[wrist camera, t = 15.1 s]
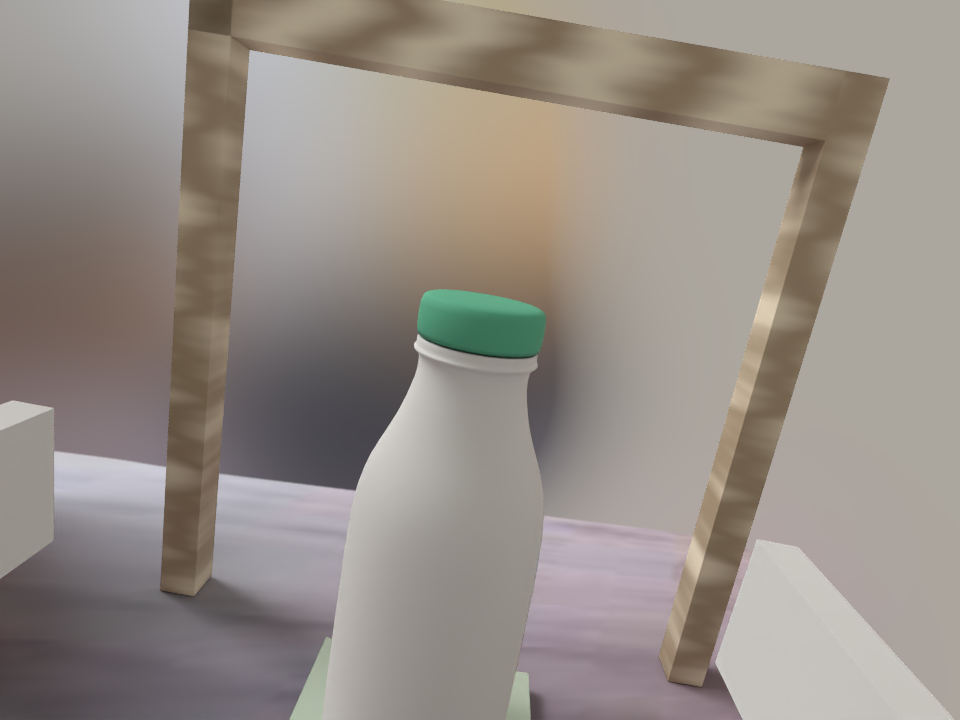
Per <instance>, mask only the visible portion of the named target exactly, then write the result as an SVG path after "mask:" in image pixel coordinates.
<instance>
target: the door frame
mask: <svg viewBox="0 0 960 720" xmlns="http://www.w3.org/2000/svg"><path fill="white" fill-rule="evenodd" d="M187 45H188V46H187V64H186V84H185V104H184V124H183V145H182V146H183V147H182V165H181V186H180V205H179V226H178V245H177V246H178V247H177V266H176V267H177V268H176V286H175V307H174V326H173V327H174V328H173V346H172V366H171V389H170V407H169V427H168V447H167V448H168V449H167V467H166V487H165V507H164V527H163V547H162V568H161V588H160V590H161V591H167V592H173V593H178V594H184V595H189V596H195V595H196V594H197V592H198V591H199V590H200V589H201V588H202V587H203V585H204V584H205V583H206V582H207V581H208V579H209V578H210V577H211V575H212V561H213V547H214V533H215V520H216V506H217V492H218V478H219V464H220V450H221V437H222V423H223V408H224V395H225V394H224V393H225V381H226V368H227V354H228V340H229V326H230V312H231V297H232V284H233V271H234V257H235V243H236V229H237V215H238V201H239V188H240V187H239V186H240V174H241V160H242V146H243V132H244V118H245V104H246V90H247V77H248V76H247V75H248V63H249V50H253V51H259V52H265V53H270V54H277V55H282V56H288V57H293V58H300V59H305V60H310V61H316V62H322V63H328V64H333V65H339V66H345V67H350V68H356V69H362V70H367V71H373V72H379V73H385V74H390V75H396V76H402V77H408V78H413V79H419V80H425V81H430V82H436V83H442V84H447V85H453V86H459V87H465V88H471V89H476V90H482V91H488V92H493V93H499V94H504V95H510V96H516V97H521V98H527V99H533V100H539V101H545V102H550V103H556V104H562V105H567V106H573V107H579V108H584V109H590V110H596V111H601V112H607V113H613V114H619V115H624V116H630V117H636V118H642V119H647V120H653V121H658V122H664V123H670V124H676V125H681V126H687V127H693V128H699V129H704V130H710V131H716V132H722V133H727V134H733V135H738V136H744V137H750V138H755V139H761V140H767V141H773V142H779V143H784V144H790V145H796V146H802V147H803V150H802V154H801V157H800V161H799V164H798V168H797V171H796V175H795V178H794V182H793V185H792V189H791V193H790V196H789V199H788V203H787V207H786V210H785V213H784V217H783V220H782V224H781V228H780V231H779V235H778V238H777V242H776V245H775V249H774V252H773V256H772V259H771V263H770V266H769V270H768V273H767V277H766V280H765V284H764V287H763V291H762V294H761V298H760V301H759V305H758V308H757V312H756V316H755V319H754V323H753V326H752V330H751V333H750V337H749V340H748V344H747V347H746V351H745V354H744V358H743V362H742V365H741V368H740V372H739V375H738V379H737V382H736V386H735V389H734V393H733V397H732V400H731V404H730V407H729V411H728V414H727V418H726V422H725V425H724V428H723V432H722V435H721V439H720V442H719V446H718V449H717V453H716V456H715V460H714V464H713V467H712V470H711V474H710V478H709V481H708V485H707V488H706V492H705V495H704V499H703V502H702V506H701V509H700V513H699V516H698V520H697V523H696V527H695V531H694V534H693V537H692V541H691V544H690V548H689V551H688V555H687V559H686V562H685V566H684V569H683V573H682V576H681V580H680V583H679V587H678V590H677V594H676V597H675V601H674V604H673V608H672V611H671V615H670V618H669V622H668V625H667V629H666V632H665V636H664V640H663V643H662V647H661V650H660V654H659V658H660V661H661V663H662V666H663V669H664V672H665V674H666V677H667V680H668V681H671V682H676V683H682V684H687V685H693V686H699V687H702V685H703V682H704V679H705V676H706V672H707V669H708V666H709V663H710V659H711V656H712V653H713V650H714V646H715V643H716V640H717V637H718V633H719V630H720V627H721V624H722V620H723V617H724V614H725V611H726V607H727V604H728V601H729V598H730V594H731V591H732V588H733V585H734V582H735V578H736V575H737V572H738V569H739V565H740V562H741V559H742V556H743V552H744V549H745V546H746V543H747V539H748V536H749V533H750V530H751V526H752V523H753V520H754V517H755V513H756V510H757V507H758V504H759V500H760V497H761V494H762V491H763V488H764V484H765V481H766V477H767V475H768V471H769V468H770V465H771V461H772V458H773V455H774V452H775V449H776V445H777V442H778V439H779V436H780V432H781V429H782V426H783V423H784V420H785V416H786V413H787V410H788V407H789V403H790V400H791V397H792V394H793V390H794V387H795V384H796V380H797V377H798V374H799V371H800V368H801V364H802V361H803V358H804V355H805V351H806V348H807V344H808V342H809V338H810V335H811V331H812V328H813V326H814V322H815V319H816V316H817V313H818V309H819V306H820V303H821V300H822V296H823V293H824V290H825V287H826V283H827V280H828V277H829V274H830V270H831V267H832V264H833V260H834V257H835V254H836V251H837V248H838V244H839V241H840V238H841V235H842V232H843V228H844V225H845V222H846V219H847V215H848V212H849V209H850V206H851V202H852V199H853V196H854V193H855V189H856V186H857V183H858V179H859V176H860V173H861V170H862V167H863V163H864V160H865V157H866V154H867V151H868V147H869V144H870V141H871V138H872V134H873V131H874V128H875V125H876V121H877V118H878V115H879V112H880V108H881V105H882V102H883V98H884V95H885V92H886V89H887V86H888V82H889V78H884V77H877V76H872V75H867V74H861V73H855V72H849V71H843V70H837V69H832V68H826V67H821V66H815V65H809V64H804V63H798V62H791V61H786V60H781V59H775V58H769V57H763V56H758V55H752V54H746V53H740V52H735V51H729V50H723V49H718V48H712V47H706V46H701V45H695V44H689V43H683V42H677V41H672V40H666V39H660V38H655V37H648V36H643V35H638V34H632V33H626V32H620V31H614V30H609V29H603V28H597V27H591V26H586V25H580V24H574V23H569V22H563V21H557V20H552V19H546V18H540V17H534V16H529V15H523V14H517V13H511V12H506V11H500V10H494V9H489V8H482V7H477V6H472V5H466V4H459V3H454V2H448V1H443V0H190V4H189V24H188V44H187Z"/></svg>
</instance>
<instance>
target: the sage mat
mask: <svg viewBox="0 0 960 720" xmlns="http://www.w3.org/2000/svg"><path fill="white" fill-rule="evenodd" d="M331 643H332V638H328V637H326V638H325V640H324V642H323V645H322V647H321V649H320V651H319V654H318V656H317V658H316V661H315V663H314V665H313V667H312V670H311V672H310V674H309V676H308V679H307V681H306V683H305V685H304V688H303V690H302V692H301V694H300V697H299V699H298V701H297V704H296V706H295V708H294V710H293V713H292V715H291V717H290V719H289V720H322V713H323V706H324V698H325V690H326V682H327V674H328V666H329V659H330V651H331ZM505 720H531V714H530V696H529V677H528V673H523V672H518V671H516V673H515V678H514V682H513V687H512V692H511V696H510V701H509V706H508V710H507V715H506V719H505Z"/></svg>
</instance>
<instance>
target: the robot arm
mask: <svg viewBox="0 0 960 720" xmlns="http://www.w3.org/2000/svg"><path fill="white" fill-rule="evenodd" d="M53 541H54V408H50V407H45V406H39V405H34V404H29V403H23V402H17V401H10V402H7V403H4V404H2V405H0V579H1V578H2V577H3V576H5V575H6V574H8V573H9V572H10V571H12V570H13V569H15V568H16V567H17V566H19V565H20V564H22V563H23V562H24V561H26V560H27V559H29V558H30V557H31V556H33V555H34V554H36V553H37V552H39V551H40V550H41V549H43V548H44V547H46V546H47V545H48V544H50V543H51V542H53ZM715 663H716V665H717V667H718V669H719V672H720V674H721V676H722V678H723V680H724V682H725V684H726V686H727V688H728V690H729V692H730V694H731V696H732V698H733V701H734V703H735V705H736V707H737V709H738V711H739V713H740V715H741V717H742V719H743V720H955V719H954V718H953V717H952V716H951V715H950V714H949V713H948V712H947V710H946V709H945V708H944V707H943V706H942V705H941V704H940V703H939V702H938V701H937V699H936V698H935V697H934V696H933V695H932V694H931V693H930V692H929V691H928V690H927V688H926V687H925V686H924V685H923V684H922V683H921V682H920V681H919V680H918V679H917V677H916V676H915V675H914V674H913V673H912V672H911V671H910V670H909V669H908V667H907V666H906V665H905V664H904V663H903V662H902V661H901V660H900V659H899V658H898V656H897V655H896V654H894V652H893V651H892V650H891V649H890V648H889V647H888V646H887V645H886V643H885V642H884V641H883V640H882V639H881V638H880V637H879V636H878V634H877V633H876V632H875V631H874V630H873V629H872V628H871V627H870V626H869V625H868V624H867V622H866V621H865V620H864V619H863V618H862V617H861V616H860V615H859V614H858V612H857V611H856V610H855V609H854V608H853V607H852V606H851V605H850V604H849V603H848V602H847V600H846V599H845V598H844V597H843V596H842V595H841V594H840V593H839V592H838V591H837V589H836V588H835V587H834V586H833V585H832V584H831V583H830V582H829V581H828V580H827V579H826V577H825V576H824V575H823V574H822V573H821V572H820V571H819V570H818V568H817V567H816V566H815V565H814V564H813V563H812V562H811V561H810V560H809V559H808V557H807V556H806V555H804V553H803V552H802V551H801V550H800V549H799V548H798V547H796V546H791V545H785V544H780V543H774V542H769V541H764V540H758V539H757V541H756V544H755V547H754V550H753V553H752V556H751V559H750V562H749V565H748V568H747V571H746V574H745V577H744V580H743V582H742V585H741V588H740V591H739V594H738V597H737V600H736V603H735V606H734V609H733V612H732V615H731V618H730V621H729V624H728V627H727V630H726V632H725V635H724V638H723V641H722V644H721V647H720V650H719V653H718V656H717V659H716V662H715Z"/></svg>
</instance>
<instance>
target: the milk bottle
mask: <svg viewBox="0 0 960 720" xmlns="http://www.w3.org/2000/svg"><path fill="white" fill-rule="evenodd" d="M545 325H546V317H545V313H544V312H543V311H542V310H540V309H538V308H536V307H534V306H532V305H529V304H526V303H523V302H519V301H515V300H511V299H507V298H502V297H498V296H492V295H487V294H481V293H475V292H467V291H458V290H432V291H428V292H426V293H425V294H424V295H423V298H422V300H421V304H420V309H419V315H418V324H417V330H418V337H417V341H416V342H415V344H414V348H415V349H416V351H418V352H419V363H418V367H417V371H416V374H415V377H414V379H413V382H412V384H411V386H410V389H409V391H408V394H407V396H406V397H405V400H404V401H403V403H402V405H401V407H400V409H399V411H398V412H397V414H396V416H395V417H394V419H393V420H392V422H391V424H390V425H389V427H388V428H387V429H386V431H385V432H384V434H383V436H382V437H381V438H380V440H379V441H378V443H377V445H376V446H375V448H374V450H373V451H372V453H371V455H370V457H369V459H368V461H367V463H366V465H365V467H364V469H363V472H362V475H361V477H360V480H359V482H358V485H357V489H356V492H355V496H354V500H353V503H352V508H351V514H350V520H349V525H348V531H347V537H346V542H345V549H344V556H343V563H342V570H341V577H340V584H339V592H338V599H337V606H336V613H335V620H334V628H333V636H332V643H331V651H330V659H329V666H328V674H327V682H326V690H325V698H324V706H323V713H322V720H505V719H506V715H507V710H508V706H509V701H510V696H511V692H512V687H513V682H514V678H515V673H516V668H517V664H518V659H519V655H520V650H521V645H522V641H523V636H524V631H525V626H526V621H527V616H528V611H529V607H530V602H531V597H532V592H533V587H534V582H535V577H536V571H537V565H538V560H539V554H540V548H541V542H542V532H543V519H544V500H543V490H542V482H541V477H540V472H539V468H538V464H537V460H536V456H535V452H534V448H533V444H532V440H531V434H530V429H529V423H528V413H527V382H528V378H529V375H530V372H532V371H534V370H535V369H536V368H537V367H538V364H537V354H538V353H539V350H540V349H541V345H542V341H543V337H544V331H545Z"/></svg>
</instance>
